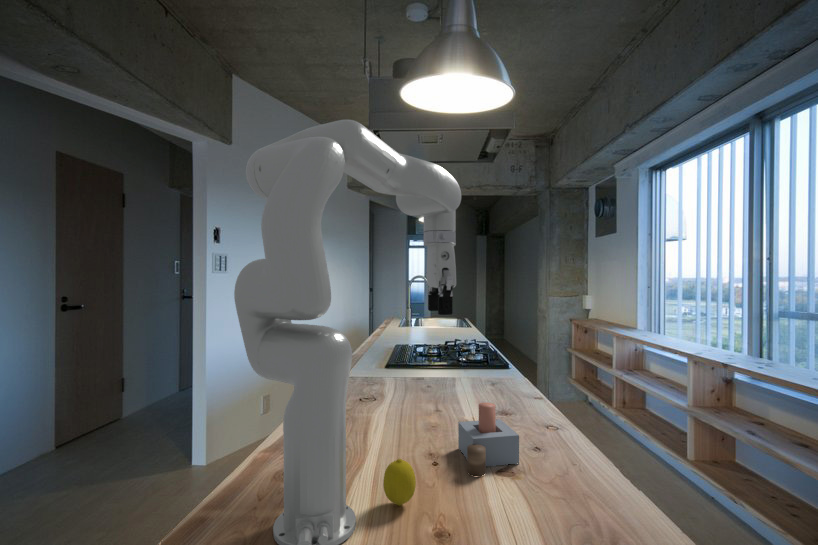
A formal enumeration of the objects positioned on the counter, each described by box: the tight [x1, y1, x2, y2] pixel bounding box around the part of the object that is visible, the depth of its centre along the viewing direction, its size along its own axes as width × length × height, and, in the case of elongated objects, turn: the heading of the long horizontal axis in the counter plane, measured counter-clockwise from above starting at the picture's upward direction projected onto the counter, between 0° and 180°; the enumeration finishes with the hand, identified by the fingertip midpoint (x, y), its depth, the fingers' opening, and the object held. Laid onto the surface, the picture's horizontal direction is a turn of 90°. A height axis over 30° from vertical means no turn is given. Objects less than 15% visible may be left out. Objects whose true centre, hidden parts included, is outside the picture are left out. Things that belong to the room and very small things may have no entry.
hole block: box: [457, 418, 520, 467], centre depth 95 cm, size 10×10×6 cm
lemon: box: [382, 458, 417, 507], centre depth 75 cm, size 6×6×8 cm
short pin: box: [466, 444, 487, 476], centre depth 87 cm, size 4×4×5 cm
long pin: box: [478, 402, 497, 433], centre depth 95 cm, size 4×4×11 cm
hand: (439, 312), depth 103 cm, fingers open, 9 cm apart
